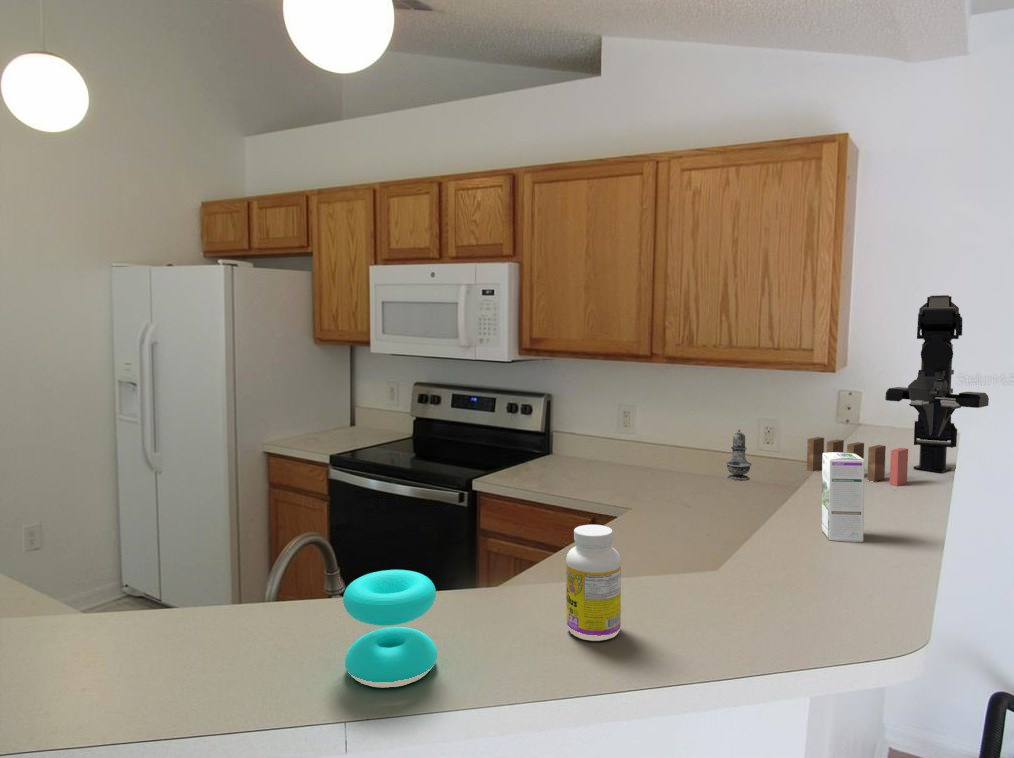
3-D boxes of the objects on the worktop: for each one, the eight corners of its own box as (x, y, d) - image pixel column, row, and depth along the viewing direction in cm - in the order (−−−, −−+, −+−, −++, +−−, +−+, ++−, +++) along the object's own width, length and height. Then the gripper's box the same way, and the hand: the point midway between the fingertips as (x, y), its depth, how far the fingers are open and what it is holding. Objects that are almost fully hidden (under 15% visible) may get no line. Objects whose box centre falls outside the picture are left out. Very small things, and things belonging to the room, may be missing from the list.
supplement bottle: (565, 619, 89) (564, 521, 88) (616, 620, 89) (617, 521, 88) (568, 644, 82) (567, 538, 81) (624, 644, 82) (624, 538, 81)
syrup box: (864, 542, 118) (867, 458, 117) (827, 540, 119) (829, 457, 118) (854, 532, 124) (857, 452, 122) (819, 531, 125) (821, 451, 124)
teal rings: (333, 601, 71) (352, 566, 81) (336, 695, 71) (354, 649, 81) (432, 599, 71) (438, 565, 81) (434, 692, 72) (440, 647, 82)
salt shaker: (747, 475, 169) (748, 427, 168) (754, 481, 163) (755, 430, 162) (723, 475, 170) (723, 426, 169) (728, 480, 164) (729, 430, 163)
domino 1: (806, 470, 174) (807, 439, 174) (817, 467, 177) (818, 436, 177) (812, 471, 173) (813, 439, 172) (823, 468, 176) (824, 437, 175)
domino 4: (867, 481, 162) (868, 447, 162) (877, 478, 165) (878, 444, 165) (874, 482, 161) (875, 448, 160) (884, 479, 164) (885, 445, 163)
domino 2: (825, 473, 170) (826, 441, 170) (836, 471, 173) (837, 439, 173) (832, 474, 169) (833, 442, 168) (842, 472, 172) (843, 440, 171)
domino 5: (889, 485, 158) (890, 450, 158) (899, 481, 161) (900, 447, 161) (897, 486, 157) (898, 451, 156) (906, 482, 160) (908, 448, 159)
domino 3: (846, 477, 166) (847, 444, 166) (856, 474, 169) (857, 442, 169) (852, 478, 165) (853, 445, 164) (863, 475, 168) (864, 443, 167)
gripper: (874, 365, 154) (872, 434, 155) (970, 369, 139) (966, 446, 140) (898, 362, 161) (895, 429, 162) (991, 366, 146) (987, 439, 147)
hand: (933, 435), depth 153 cm, fingers closed
